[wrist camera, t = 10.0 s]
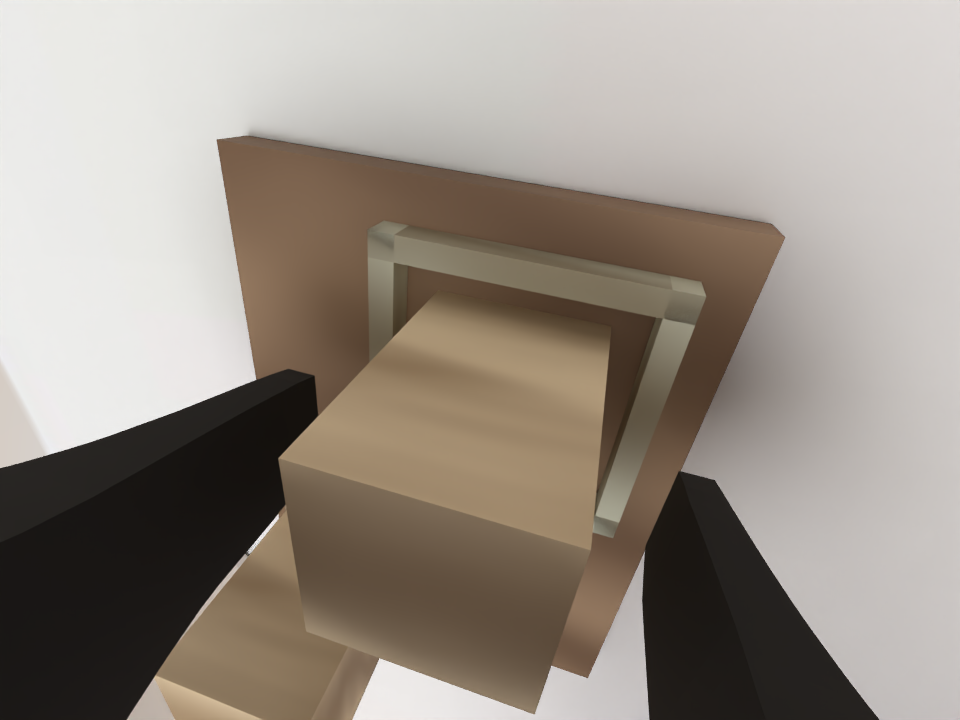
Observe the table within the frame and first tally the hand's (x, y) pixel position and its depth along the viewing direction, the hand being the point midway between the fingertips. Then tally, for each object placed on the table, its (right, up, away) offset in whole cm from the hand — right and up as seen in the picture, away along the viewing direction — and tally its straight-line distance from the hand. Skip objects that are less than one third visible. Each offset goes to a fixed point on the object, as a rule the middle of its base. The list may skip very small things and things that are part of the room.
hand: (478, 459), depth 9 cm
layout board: (-1, -1, +5) cm, 5 cm away
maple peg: (+1, +1, +2) cm, 3 cm away
